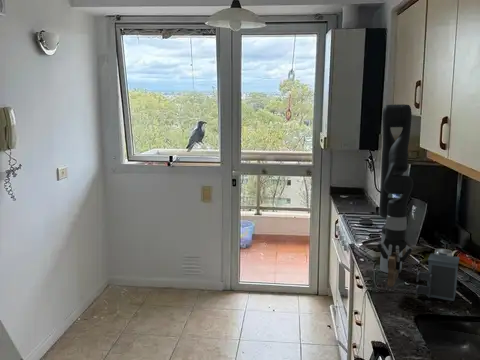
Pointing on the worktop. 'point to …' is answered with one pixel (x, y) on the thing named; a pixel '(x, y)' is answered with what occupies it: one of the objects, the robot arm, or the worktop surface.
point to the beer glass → (443, 252)
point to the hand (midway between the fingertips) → (393, 269)
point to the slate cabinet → (439, 277)
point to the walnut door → (392, 270)
